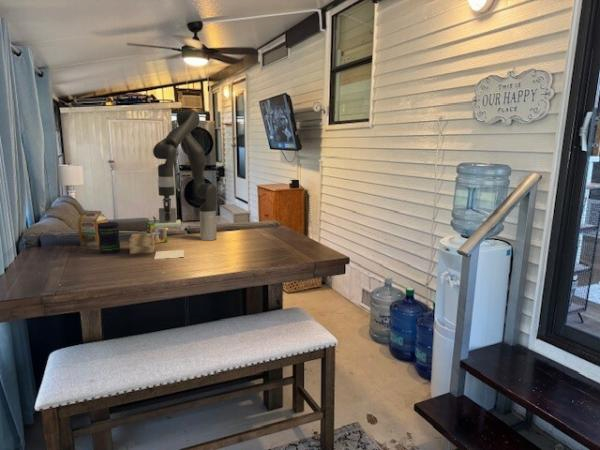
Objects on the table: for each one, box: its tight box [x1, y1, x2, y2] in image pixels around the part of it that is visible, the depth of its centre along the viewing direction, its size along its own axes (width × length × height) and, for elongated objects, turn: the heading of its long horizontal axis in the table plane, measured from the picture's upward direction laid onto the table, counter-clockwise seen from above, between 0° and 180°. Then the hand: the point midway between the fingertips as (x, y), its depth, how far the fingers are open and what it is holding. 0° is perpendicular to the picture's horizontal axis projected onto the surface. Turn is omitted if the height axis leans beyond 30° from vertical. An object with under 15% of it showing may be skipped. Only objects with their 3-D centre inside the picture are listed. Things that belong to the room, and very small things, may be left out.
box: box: [128, 233, 155, 255], centre depth 210 cm, size 11×11×8 cm
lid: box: [154, 207, 182, 229], centre depth 200 cm, size 12×12×9 cm
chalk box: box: [146, 216, 168, 244], centre depth 231 cm, size 9×9×15 cm
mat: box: [153, 249, 185, 260], centre depth 204 cm, size 14×14×1 cm
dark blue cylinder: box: [98, 221, 121, 255], centre depth 207 cm, size 10×10×15 cm
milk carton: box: [77, 209, 109, 248], centre depth 222 cm, size 11×11×19 cm
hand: (167, 219), depth 200 cm, fingers closed on lid, 3 cm apart
